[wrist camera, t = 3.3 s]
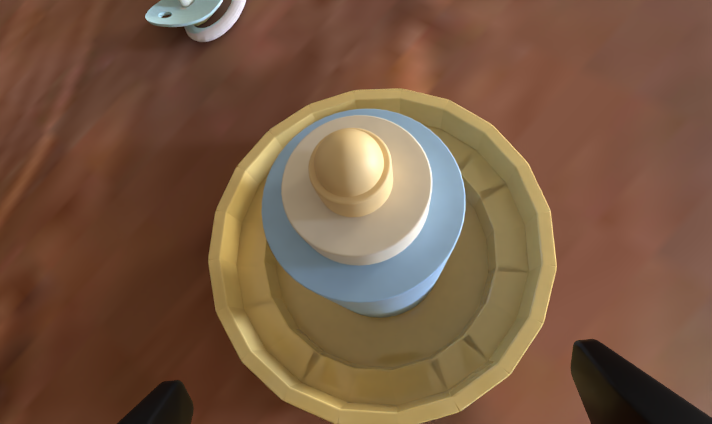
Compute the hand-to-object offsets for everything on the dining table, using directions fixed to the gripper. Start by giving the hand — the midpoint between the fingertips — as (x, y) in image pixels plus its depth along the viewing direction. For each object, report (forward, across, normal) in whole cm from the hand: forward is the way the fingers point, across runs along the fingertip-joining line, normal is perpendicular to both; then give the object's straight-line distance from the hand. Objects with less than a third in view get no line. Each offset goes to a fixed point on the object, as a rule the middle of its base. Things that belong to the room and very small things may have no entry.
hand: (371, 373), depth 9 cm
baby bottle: (+12, 0, +4) cm, 12 cm away
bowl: (+12, 0, +5) cm, 13 cm away
